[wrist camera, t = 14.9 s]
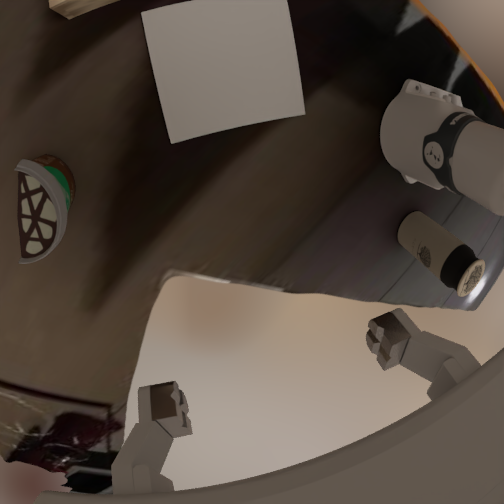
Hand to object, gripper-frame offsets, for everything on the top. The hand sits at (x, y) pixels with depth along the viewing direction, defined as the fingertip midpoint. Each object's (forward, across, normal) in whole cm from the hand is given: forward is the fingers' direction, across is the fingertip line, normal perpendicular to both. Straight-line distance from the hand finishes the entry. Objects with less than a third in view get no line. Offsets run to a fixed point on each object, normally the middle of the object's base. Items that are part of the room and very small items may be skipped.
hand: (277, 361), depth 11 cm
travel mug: (+33, +38, -21) cm, 54 cm away
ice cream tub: (+32, -19, +2) cm, 37 cm away
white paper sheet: (+32, +6, +12) cm, 34 cm away
